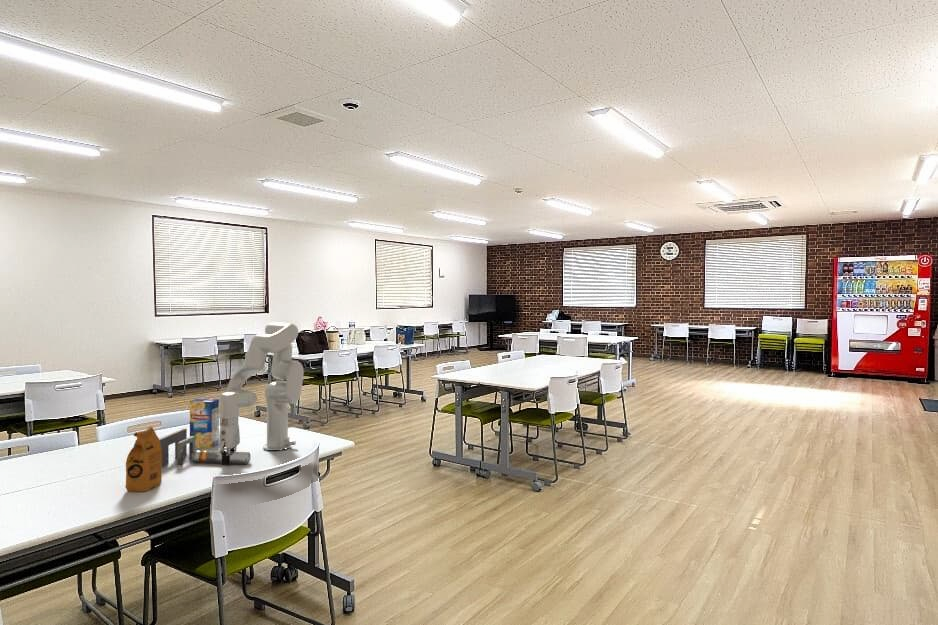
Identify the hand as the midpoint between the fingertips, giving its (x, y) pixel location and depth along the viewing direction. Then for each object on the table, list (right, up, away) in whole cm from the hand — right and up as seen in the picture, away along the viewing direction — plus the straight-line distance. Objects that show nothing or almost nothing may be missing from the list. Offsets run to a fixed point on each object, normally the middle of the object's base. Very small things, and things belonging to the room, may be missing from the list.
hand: (228, 462), depth 243 cm
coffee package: (-19, -1, -31) cm, 36 cm away
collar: (-19, 0, +1) cm, 19 cm away
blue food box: (-24, +1, +27) cm, 36 cm away
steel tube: (-4, 0, 0) cm, 4 cm away
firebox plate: (-26, 0, +1) cm, 26 cm away
